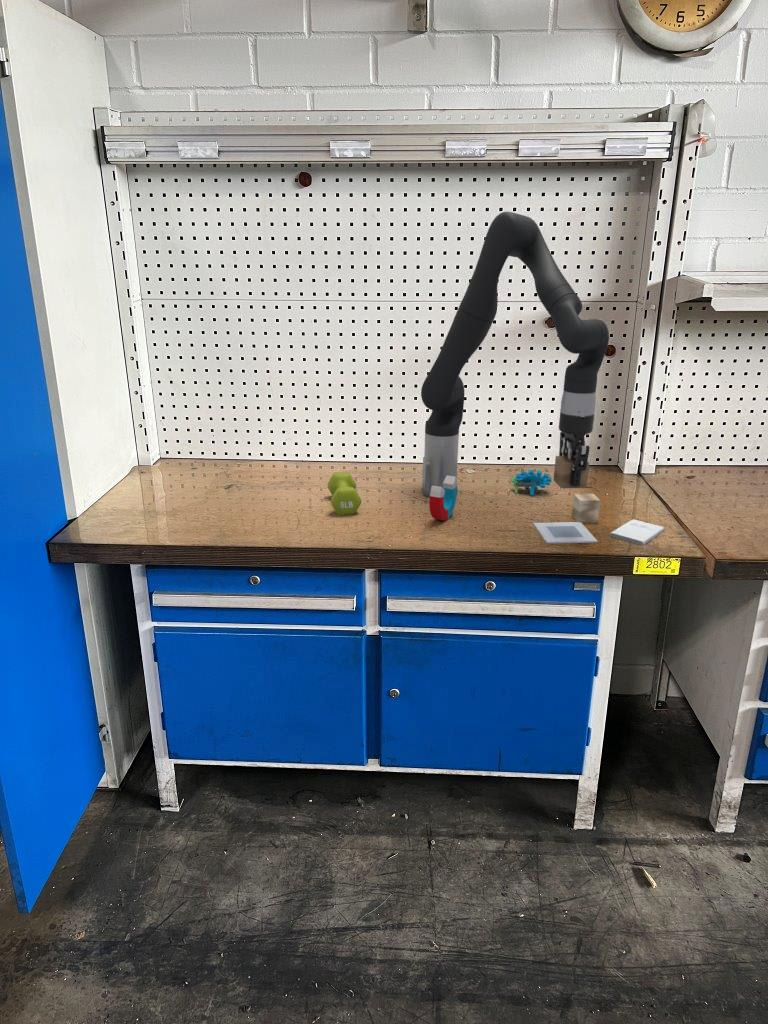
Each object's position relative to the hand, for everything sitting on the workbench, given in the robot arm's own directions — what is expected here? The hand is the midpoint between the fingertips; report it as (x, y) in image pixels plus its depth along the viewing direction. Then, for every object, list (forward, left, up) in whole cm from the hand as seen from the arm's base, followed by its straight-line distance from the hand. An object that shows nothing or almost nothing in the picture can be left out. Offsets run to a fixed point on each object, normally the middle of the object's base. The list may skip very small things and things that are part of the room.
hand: (570, 481), depth 163 cm
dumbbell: (-53, +22, -14) cm, 59 cm away
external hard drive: (+18, -1, -14) cm, 22 cm away
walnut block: (0, 0, -1) cm, 1 cm away
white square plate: (0, 0, -13) cm, 13 cm away
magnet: (-28, +11, -13) cm, 33 cm away
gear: (0, +30, -13) cm, 33 cm away
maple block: (+8, +9, -13) cm, 18 cm away
